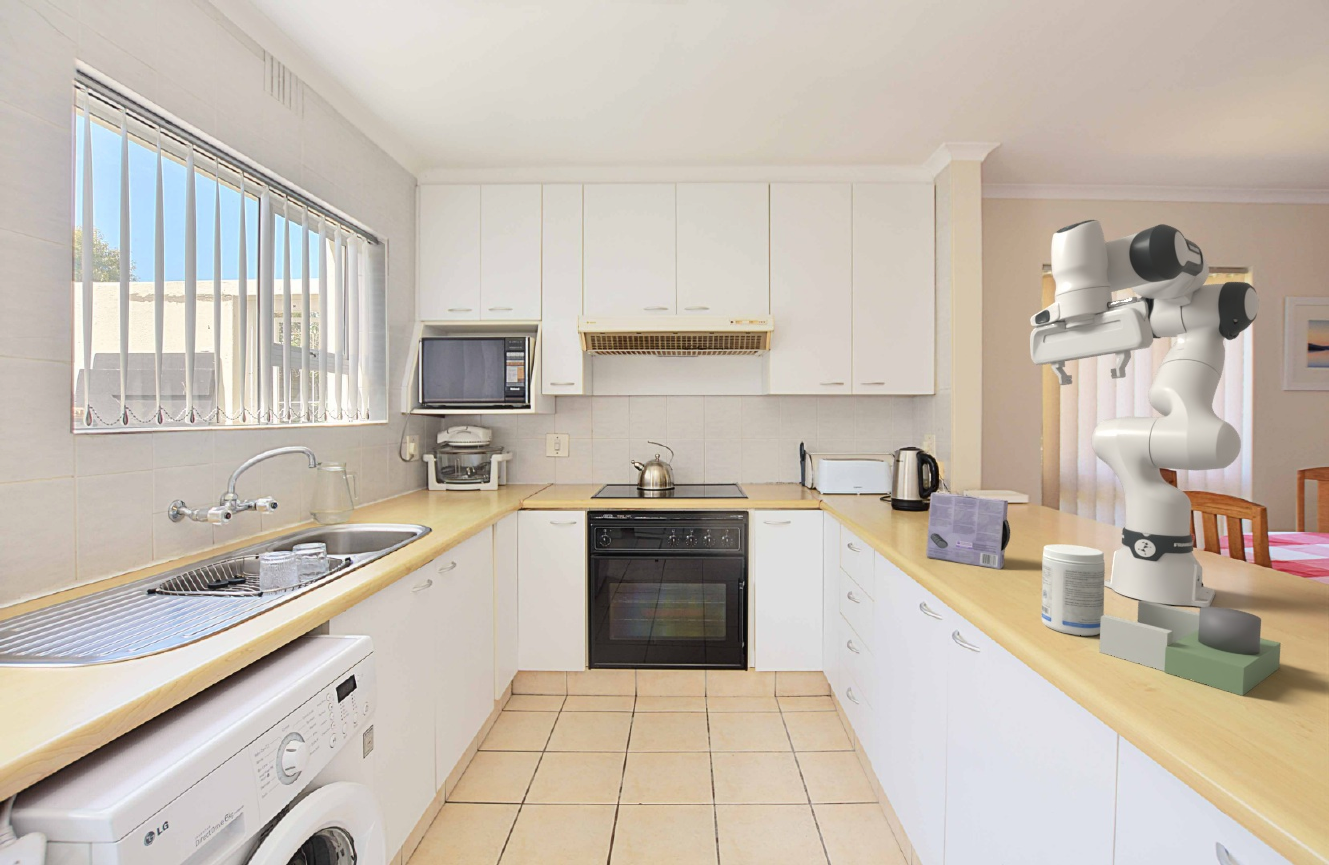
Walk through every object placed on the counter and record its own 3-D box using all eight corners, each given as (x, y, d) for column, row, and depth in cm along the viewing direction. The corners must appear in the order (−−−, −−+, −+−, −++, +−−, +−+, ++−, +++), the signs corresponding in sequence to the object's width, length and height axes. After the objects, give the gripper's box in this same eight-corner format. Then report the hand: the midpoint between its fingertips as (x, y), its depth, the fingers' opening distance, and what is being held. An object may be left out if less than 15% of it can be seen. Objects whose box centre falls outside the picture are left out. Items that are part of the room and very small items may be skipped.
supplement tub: (1112, 631, 113) (1115, 551, 112) (1088, 641, 107) (1092, 557, 107) (1054, 616, 121) (1057, 541, 120) (1030, 625, 115) (1033, 546, 115)
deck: (1142, 632, 112) (1144, 583, 112) (1279, 667, 97) (1282, 611, 97) (1097, 652, 102) (1100, 599, 102) (1242, 695, 87) (1245, 633, 87)
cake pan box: (1009, 567, 159) (1011, 498, 158) (1005, 570, 155) (1008, 500, 154) (931, 555, 171) (933, 491, 170) (925, 558, 167) (927, 493, 166)
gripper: (1156, 294, 108) (1164, 373, 108) (1042, 320, 126) (1049, 387, 126) (1135, 293, 105) (1143, 374, 105) (1022, 320, 124) (1029, 388, 123)
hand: (1091, 381), depth 116 cm, fingers open, 8 cm apart
